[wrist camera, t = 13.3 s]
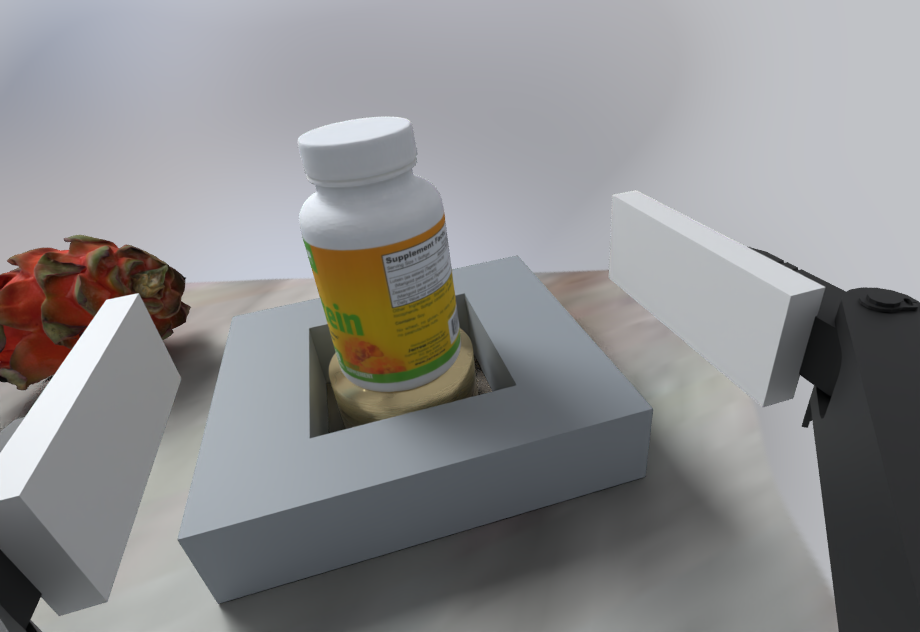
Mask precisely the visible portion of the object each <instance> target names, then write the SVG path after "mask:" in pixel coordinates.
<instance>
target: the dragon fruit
mask: <svg viewBox="0 0 920 632" xmlns="http://www.w3.org/2000/svg"><path fill="white" fill-rule="evenodd" d="M64 241H65V242H71V243H70V248H69V250H62V251H60V250H57V249H53V248H38V249H34V250H30V251H27V252H25V253H22V254H18V255H14V256H12V257H11V258H9V259H8V260H7V262H9V263H10V264H12V265H17V266H19V268H17V269H15V270H12V271H10V272H7V273H3V274H1V275H0V381H1V382H9V383H11V384H14V385H16V386H17V389H19V390H26V389H28V388H27V387H29V385H31V384H34V383H38V382H40V381H41V380H43V379H46V378H47V377H49V376H51V375H53V374H55V373H56V372H57V370H58V369H59V367H60V366H61V365H62V363H63V362H64V360H65V359H66V357H67V356H68V354H69V353H70V352H71V350H72V349H73V347H74V346H75V344H76V343H77V341H78V340H79V339H80V337H81V336H82V334H83V333H84V331H85V330H86V328H87V327H88V326H89V324H90V323H91V321H92V320H93V318H94V317H95V315H96V314H97V313H98V311H99V310H100V308H101V307H102V305H103V304H104V302H105V301H106V300H108V299H113V298H118V297H123V296H127V295H132V294H137V293H139V295H140V297H141V299H142V301H143V303H144V305H145V307H146V309H147V311H148V313H149V315H150V317H151V319H152V321H153V323H154V325H155V327H156V329H157V331H158V333H159V335H160V337H161V339H162V340H164V339H166V338H168V337H169V336H171V335H172V334H173V330H172V329H174V328H176V327H178V326H180V325H182V324H183V323H185V322H186V318H187V315H188V314H189V310H190V308H191V307H190V306H188V305H186V304H185V303H183V302H182V301H181V297H182V295H183V292H184V289H185V277H183V276H182V275H181V274H180V273H179V272H178V271H176V270H175V269H173V268H172V267H170V266H169V265H168V264H166V263H165V262H164V261H161V260H160V259H158V258H157V257H156V256H154V255H152V254H149V253H148V252H146V251H143V250H141V249H139V248H136V247H134V246H131V245H124V246H123V247H121V248H118V247H117V246H116V245H115V244H114V243H113V242H110V241H106V240H103V239H98V238H93V237H88V236H84V235H75V236H71V237H68V238H64Z"/></svg>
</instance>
